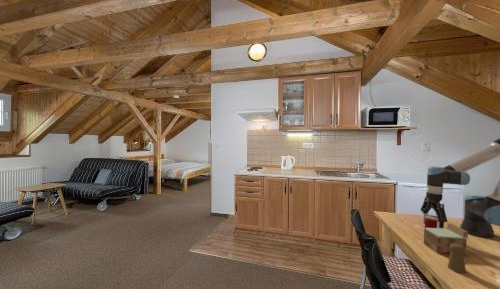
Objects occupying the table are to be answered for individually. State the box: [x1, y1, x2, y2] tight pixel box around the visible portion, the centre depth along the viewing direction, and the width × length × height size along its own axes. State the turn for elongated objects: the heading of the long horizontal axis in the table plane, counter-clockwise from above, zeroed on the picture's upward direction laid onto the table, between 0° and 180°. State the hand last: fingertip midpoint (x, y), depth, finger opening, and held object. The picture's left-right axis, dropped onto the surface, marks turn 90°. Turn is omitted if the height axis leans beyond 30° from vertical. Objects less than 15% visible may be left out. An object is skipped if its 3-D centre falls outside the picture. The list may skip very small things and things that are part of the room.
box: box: [423, 229, 467, 256], centre depth 121 cm, size 13×11×8 cm
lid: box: [424, 222, 469, 240], centre depth 121 cm, size 13×11×4 cm
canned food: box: [424, 214, 438, 230], centre depth 138 cm, size 8×8×11 cm
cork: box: [447, 243, 467, 274], centre depth 102 cm, size 6×6×11 cm
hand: (432, 228), depth 138 cm, fingers open, 13 cm apart
